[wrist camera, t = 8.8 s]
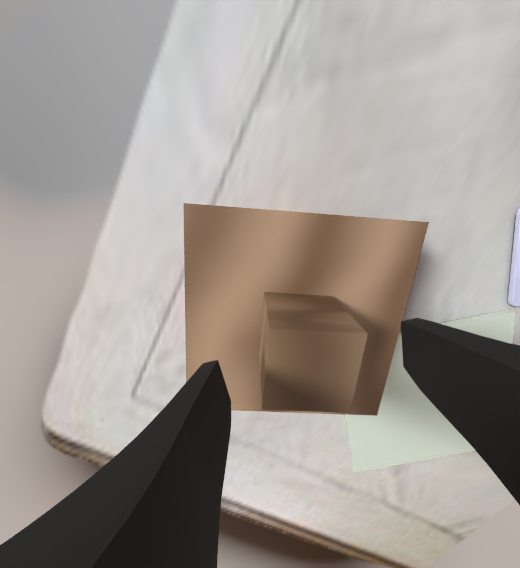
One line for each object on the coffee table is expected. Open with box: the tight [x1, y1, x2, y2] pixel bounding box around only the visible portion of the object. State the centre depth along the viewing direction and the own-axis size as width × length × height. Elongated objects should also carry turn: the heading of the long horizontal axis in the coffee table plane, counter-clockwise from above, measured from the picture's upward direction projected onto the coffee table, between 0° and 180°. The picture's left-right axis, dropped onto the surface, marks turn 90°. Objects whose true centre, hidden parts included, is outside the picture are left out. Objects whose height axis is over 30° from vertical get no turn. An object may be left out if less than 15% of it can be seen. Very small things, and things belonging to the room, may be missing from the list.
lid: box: [184, 203, 429, 416], centre depth 13 cm, size 13×13×5 cm
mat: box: [345, 309, 516, 473], centre depth 23 cm, size 15×15×1 cm
